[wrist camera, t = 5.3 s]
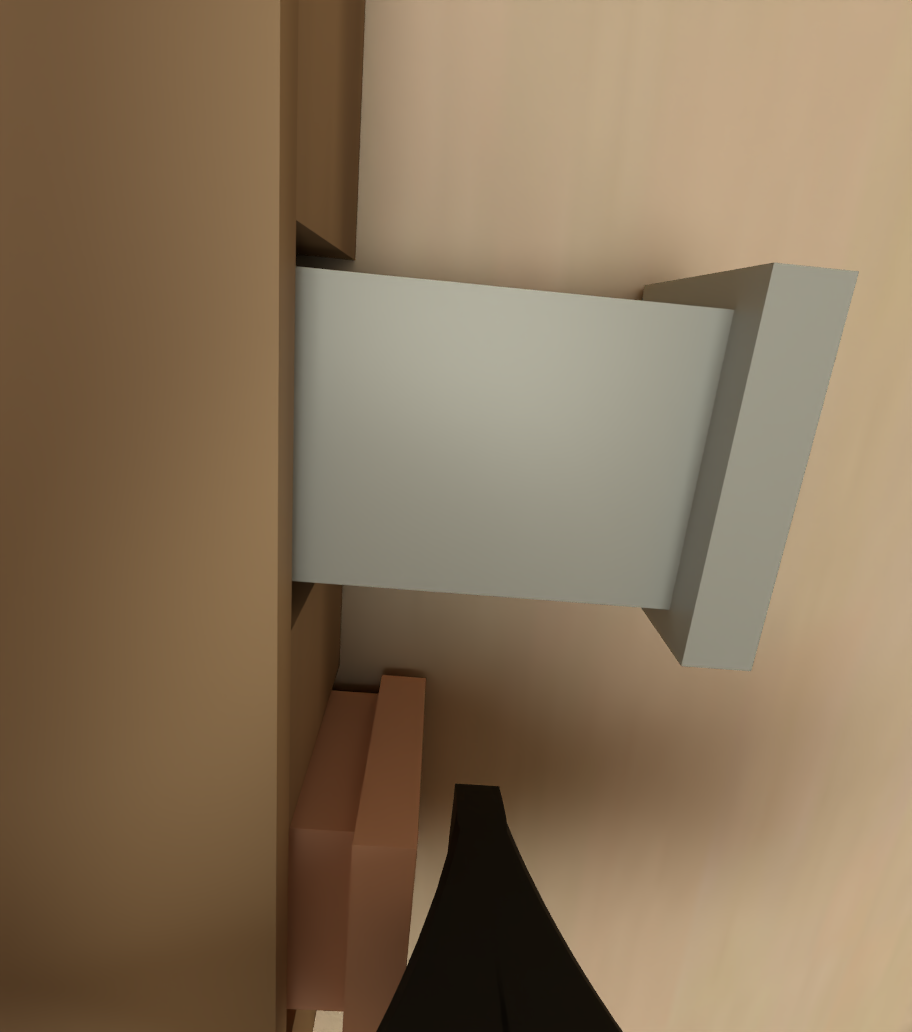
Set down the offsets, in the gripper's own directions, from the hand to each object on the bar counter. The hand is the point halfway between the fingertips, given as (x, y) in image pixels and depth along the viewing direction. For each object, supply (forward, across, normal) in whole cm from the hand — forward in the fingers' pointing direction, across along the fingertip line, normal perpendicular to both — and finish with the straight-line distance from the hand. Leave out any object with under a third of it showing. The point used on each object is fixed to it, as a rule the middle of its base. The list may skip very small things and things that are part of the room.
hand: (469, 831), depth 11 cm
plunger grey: (+2, +1, -7) cm, 7 cm away
